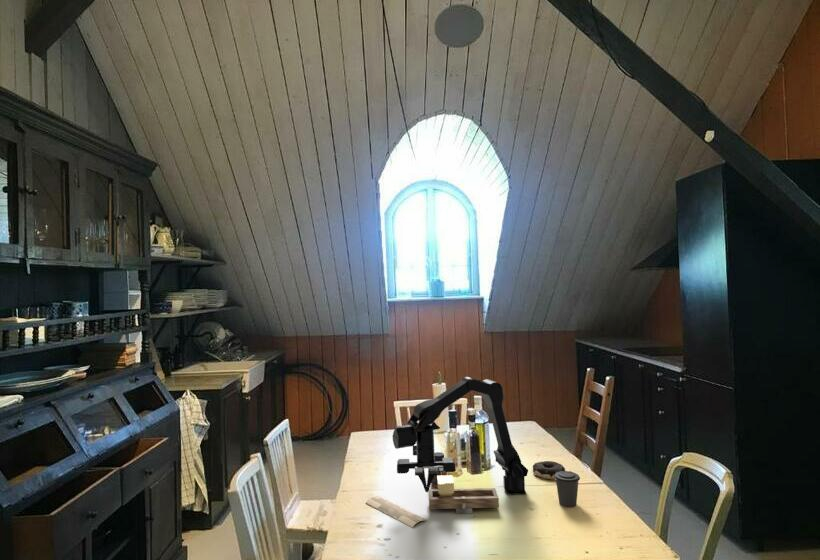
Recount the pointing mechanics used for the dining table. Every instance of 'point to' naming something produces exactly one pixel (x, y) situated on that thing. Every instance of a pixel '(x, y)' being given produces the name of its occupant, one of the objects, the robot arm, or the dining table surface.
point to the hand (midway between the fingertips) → (426, 491)
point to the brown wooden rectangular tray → (465, 499)
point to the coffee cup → (567, 488)
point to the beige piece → (394, 511)
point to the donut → (547, 469)
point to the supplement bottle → (440, 470)
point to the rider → (445, 486)
